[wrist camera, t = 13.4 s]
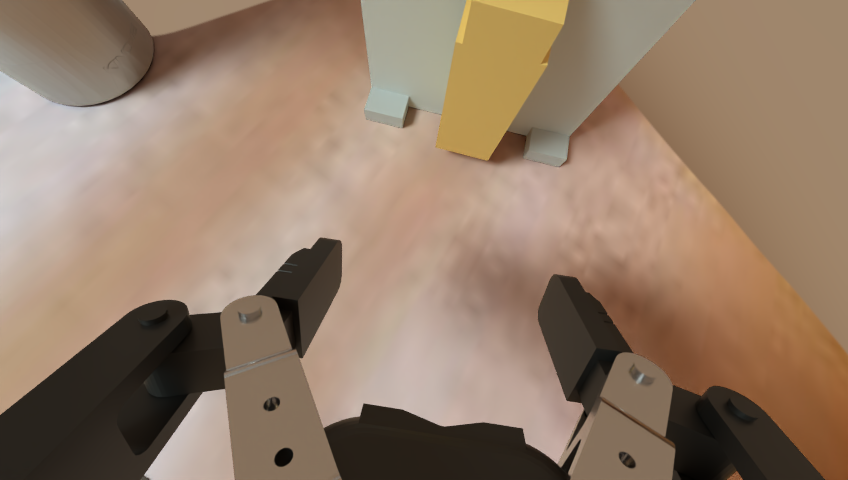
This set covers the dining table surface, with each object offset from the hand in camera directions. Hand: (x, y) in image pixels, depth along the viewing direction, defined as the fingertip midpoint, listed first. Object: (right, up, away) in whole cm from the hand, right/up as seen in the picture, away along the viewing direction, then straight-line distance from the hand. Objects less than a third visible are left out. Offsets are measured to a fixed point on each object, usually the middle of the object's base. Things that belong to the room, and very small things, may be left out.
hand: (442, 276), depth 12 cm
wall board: (+3, +13, +14) cm, 19 cm away
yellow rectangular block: (+3, +12, +12) cm, 17 cm away
